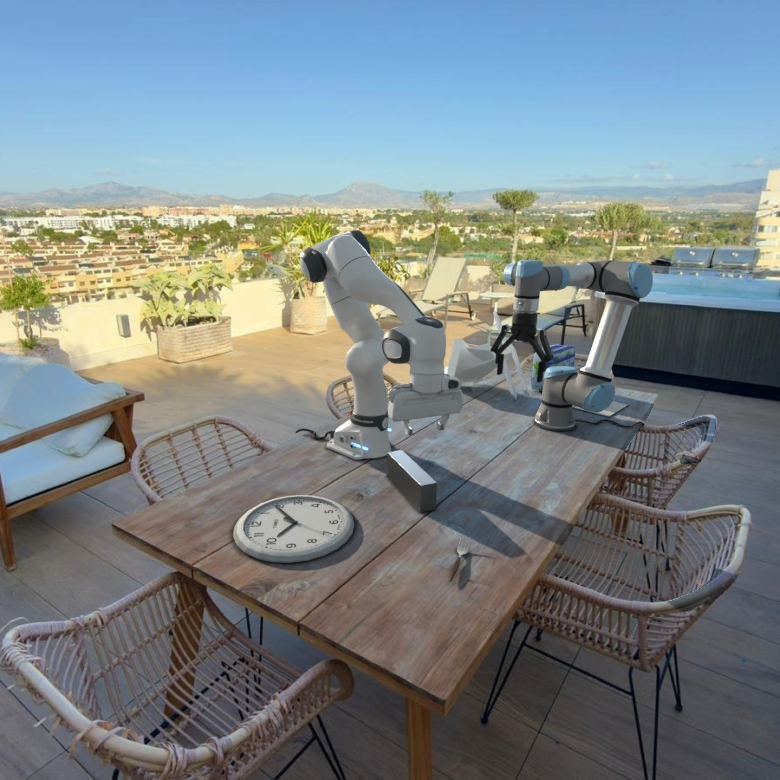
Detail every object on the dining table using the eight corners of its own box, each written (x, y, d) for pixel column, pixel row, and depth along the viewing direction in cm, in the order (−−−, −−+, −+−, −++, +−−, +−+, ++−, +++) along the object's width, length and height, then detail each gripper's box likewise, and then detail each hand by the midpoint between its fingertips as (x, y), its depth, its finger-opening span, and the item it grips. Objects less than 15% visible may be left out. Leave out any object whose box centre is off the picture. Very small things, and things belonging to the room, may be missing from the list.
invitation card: (608, 416, 214) (573, 407, 224) (608, 416, 214) (573, 408, 224) (628, 404, 229) (594, 396, 238) (628, 405, 229) (594, 397, 238)
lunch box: (547, 396, 238) (552, 351, 232) (526, 391, 246) (531, 347, 239) (574, 385, 256) (579, 343, 250) (554, 380, 263) (559, 340, 257)
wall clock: (355, 554, 119) (220, 559, 116) (355, 560, 119) (221, 565, 117) (353, 490, 147) (244, 493, 145) (353, 495, 148) (245, 498, 145)
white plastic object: (461, 429, 252) (437, 405, 227) (444, 352, 274) (420, 323, 250) (535, 404, 240) (518, 377, 215) (510, 326, 262) (492, 293, 237)
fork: (443, 582, 112) (444, 574, 112) (460, 542, 127) (460, 535, 126) (455, 584, 112) (456, 576, 111) (471, 544, 126) (471, 537, 125)
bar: (386, 476, 160) (387, 452, 157) (401, 474, 162) (401, 449, 159) (419, 512, 140) (420, 485, 137) (435, 509, 142) (437, 482, 139)
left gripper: (394, 389, 127) (393, 442, 131) (467, 381, 134) (464, 431, 138) (384, 382, 132) (383, 433, 136) (455, 374, 140) (452, 423, 144)
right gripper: (483, 308, 166) (478, 373, 172) (560, 317, 151) (552, 387, 158) (493, 306, 171) (489, 368, 178) (569, 314, 157) (561, 382, 163)
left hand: (424, 432), depth 137 cm, fingers open, 8 cm apart
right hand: (519, 377), depth 168 cm, fingers open, 13 cm apart
